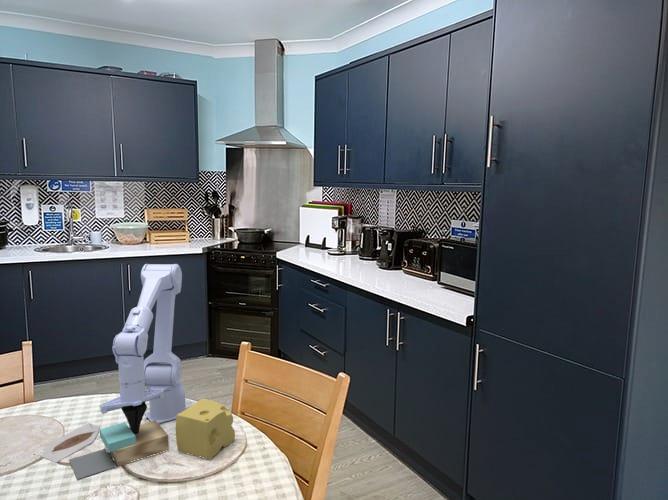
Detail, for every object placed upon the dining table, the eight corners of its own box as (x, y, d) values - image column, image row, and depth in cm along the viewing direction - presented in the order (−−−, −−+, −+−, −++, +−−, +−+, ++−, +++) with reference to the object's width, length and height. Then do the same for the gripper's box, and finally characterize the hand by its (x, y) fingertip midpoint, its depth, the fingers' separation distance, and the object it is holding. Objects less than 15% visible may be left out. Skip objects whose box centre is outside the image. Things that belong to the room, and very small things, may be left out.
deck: (155, 434, 127) (155, 420, 127) (168, 450, 119) (168, 435, 119) (107, 449, 120) (106, 434, 119) (117, 466, 112) (116, 450, 111)
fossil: (88, 422, 132) (113, 428, 128) (89, 426, 133) (114, 432, 128) (29, 452, 118) (55, 460, 114) (30, 456, 118) (56, 464, 114)
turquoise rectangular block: (125, 429, 122) (125, 421, 121) (135, 443, 115) (135, 436, 114) (99, 436, 118) (99, 429, 118) (109, 452, 111) (108, 444, 111)
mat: (105, 449, 119) (105, 448, 119) (115, 467, 112) (115, 466, 112) (69, 460, 115) (69, 459, 115) (77, 480, 107) (77, 479, 107)
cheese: (235, 441, 124) (234, 404, 123) (208, 462, 114) (206, 422, 113) (203, 432, 128) (202, 397, 127) (174, 452, 118) (173, 414, 117)
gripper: (104, 392, 109) (107, 448, 111) (167, 377, 118) (169, 429, 120) (97, 383, 115) (100, 436, 117) (157, 369, 124) (160, 419, 125)
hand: (134, 432), depth 119 cm, fingers closed
